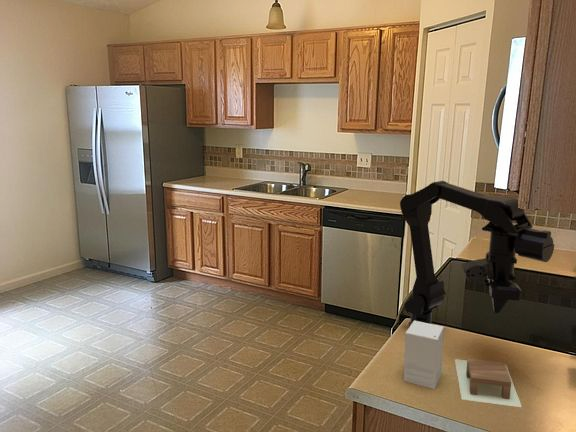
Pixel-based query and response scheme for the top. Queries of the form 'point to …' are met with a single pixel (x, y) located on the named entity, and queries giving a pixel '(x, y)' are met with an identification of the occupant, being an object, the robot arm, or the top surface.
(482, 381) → the footstool
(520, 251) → the robot arm
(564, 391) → the top surface
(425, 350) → the supplement box
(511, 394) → the mat
